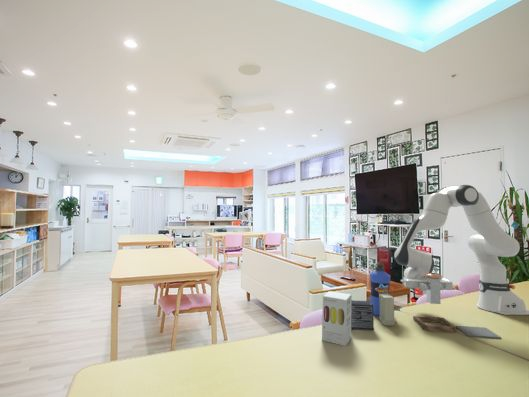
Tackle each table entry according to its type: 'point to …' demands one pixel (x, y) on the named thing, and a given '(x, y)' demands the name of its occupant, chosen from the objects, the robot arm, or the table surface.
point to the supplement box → (336, 318)
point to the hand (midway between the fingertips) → (434, 287)
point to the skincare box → (386, 309)
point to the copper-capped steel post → (433, 288)
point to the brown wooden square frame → (446, 328)
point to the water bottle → (378, 286)
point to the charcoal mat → (478, 332)
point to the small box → (362, 315)
